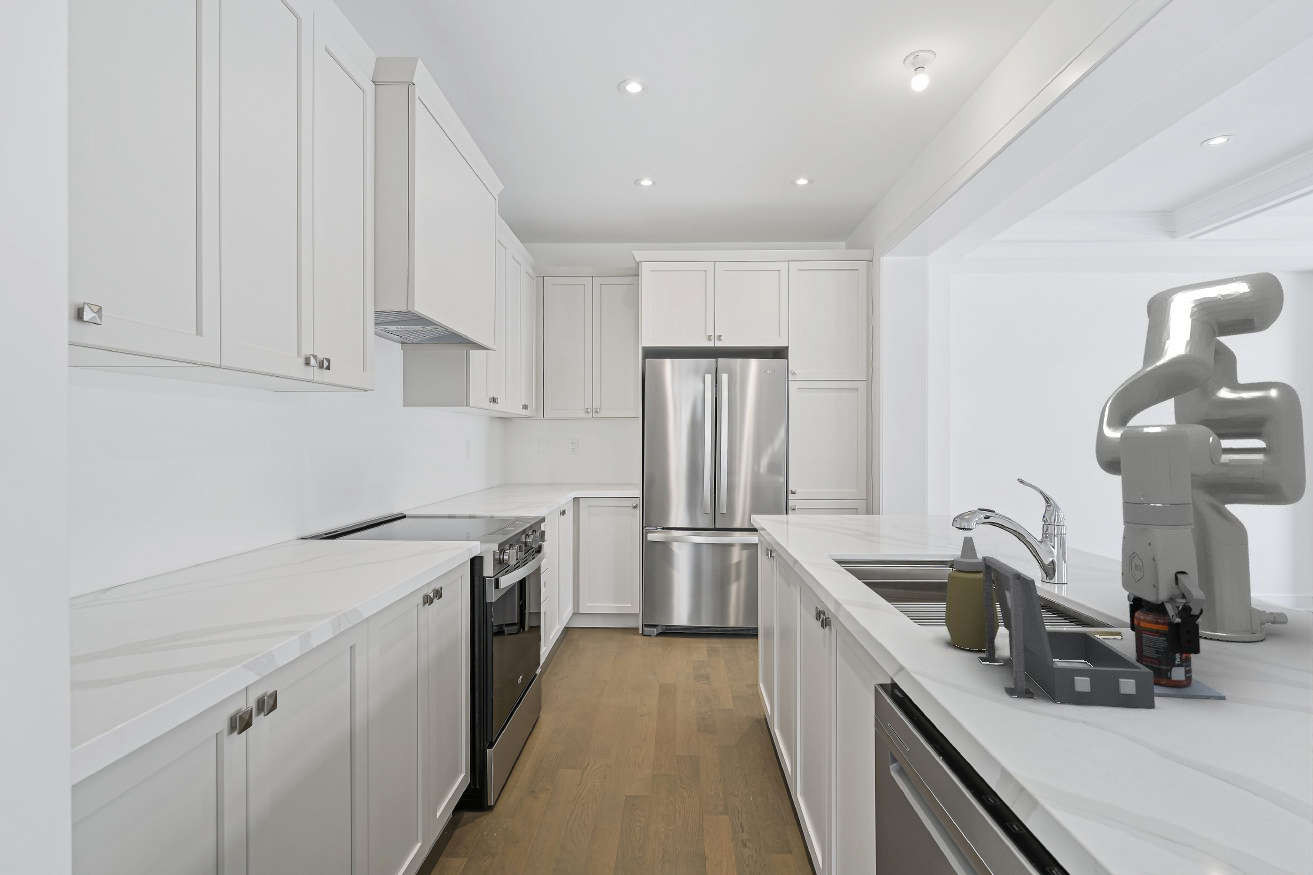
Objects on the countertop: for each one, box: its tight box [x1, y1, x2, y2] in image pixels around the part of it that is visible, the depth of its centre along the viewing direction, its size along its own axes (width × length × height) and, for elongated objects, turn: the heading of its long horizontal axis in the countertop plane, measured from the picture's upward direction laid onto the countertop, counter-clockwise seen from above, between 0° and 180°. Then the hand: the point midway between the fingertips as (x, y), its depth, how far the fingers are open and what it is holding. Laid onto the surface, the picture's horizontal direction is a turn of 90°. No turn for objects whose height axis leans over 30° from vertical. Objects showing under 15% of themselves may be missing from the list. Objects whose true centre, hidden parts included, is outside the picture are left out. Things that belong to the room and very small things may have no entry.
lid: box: [990, 556, 1055, 666], centre depth 90 cm, size 11×18×1 cm
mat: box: [1154, 676, 1227, 700], centre depth 86 cm, size 9×9×1 cm
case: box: [1008, 629, 1156, 709], centre depth 88 cm, size 11×18×4 cm, turn 167°
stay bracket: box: [977, 555, 1036, 698], centre depth 90 cm, size 3×15×16 cm, turn 167°
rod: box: [1046, 628, 1123, 638], centre depth 108 cm, size 12×1×1 cm
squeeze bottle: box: [944, 536, 1000, 651], centre depth 104 cm, size 8×8×18 cm
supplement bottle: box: [1134, 599, 1193, 687], centre depth 86 cm, size 6×6×11 cm
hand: (1163, 641), depth 86 cm, fingers open, 9 cm apart
